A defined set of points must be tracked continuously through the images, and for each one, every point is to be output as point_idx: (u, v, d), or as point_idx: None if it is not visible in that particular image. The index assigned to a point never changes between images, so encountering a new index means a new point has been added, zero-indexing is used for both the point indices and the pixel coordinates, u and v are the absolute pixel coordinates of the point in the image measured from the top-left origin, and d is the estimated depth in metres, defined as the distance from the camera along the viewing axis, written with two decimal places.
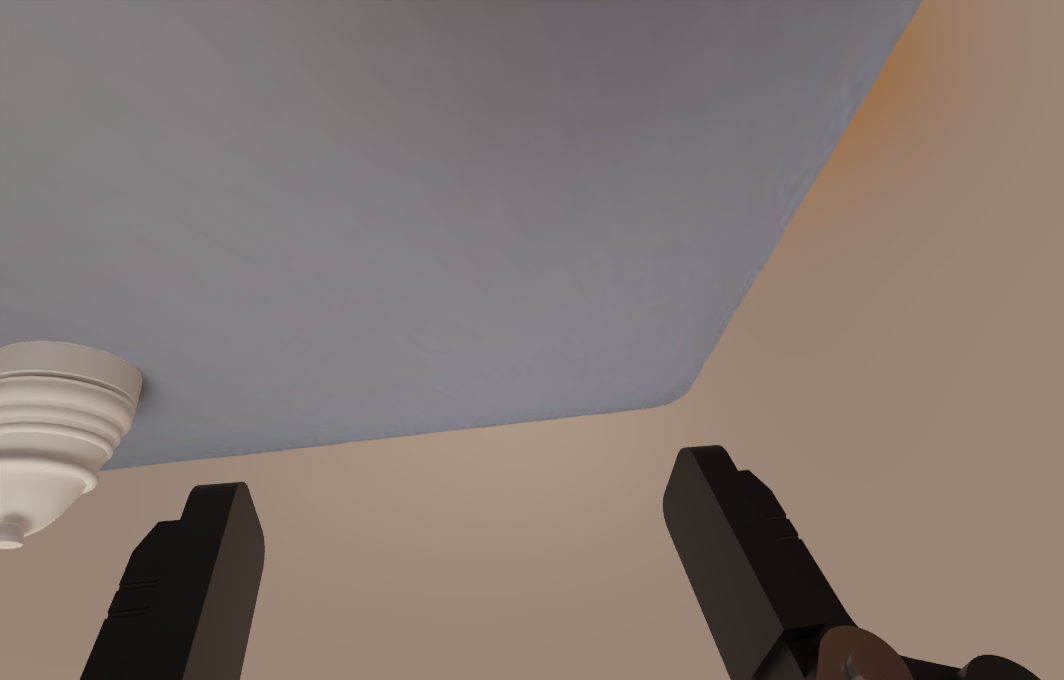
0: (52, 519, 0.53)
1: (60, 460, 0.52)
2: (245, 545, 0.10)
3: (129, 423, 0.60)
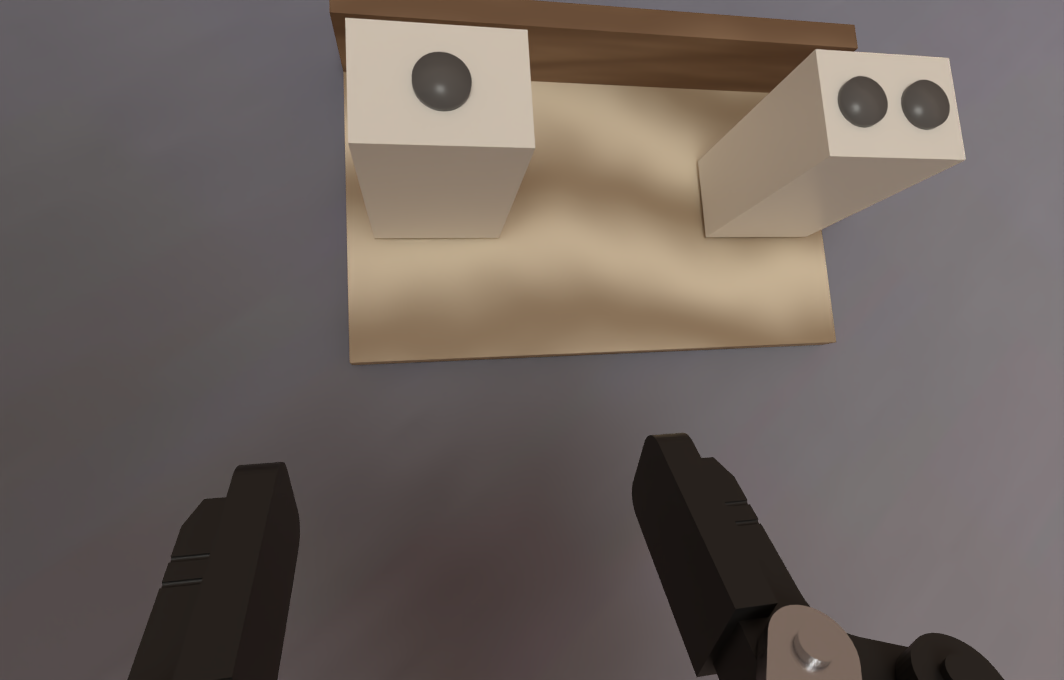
0: None
1: None
2: (285, 523, 0.10)
3: None
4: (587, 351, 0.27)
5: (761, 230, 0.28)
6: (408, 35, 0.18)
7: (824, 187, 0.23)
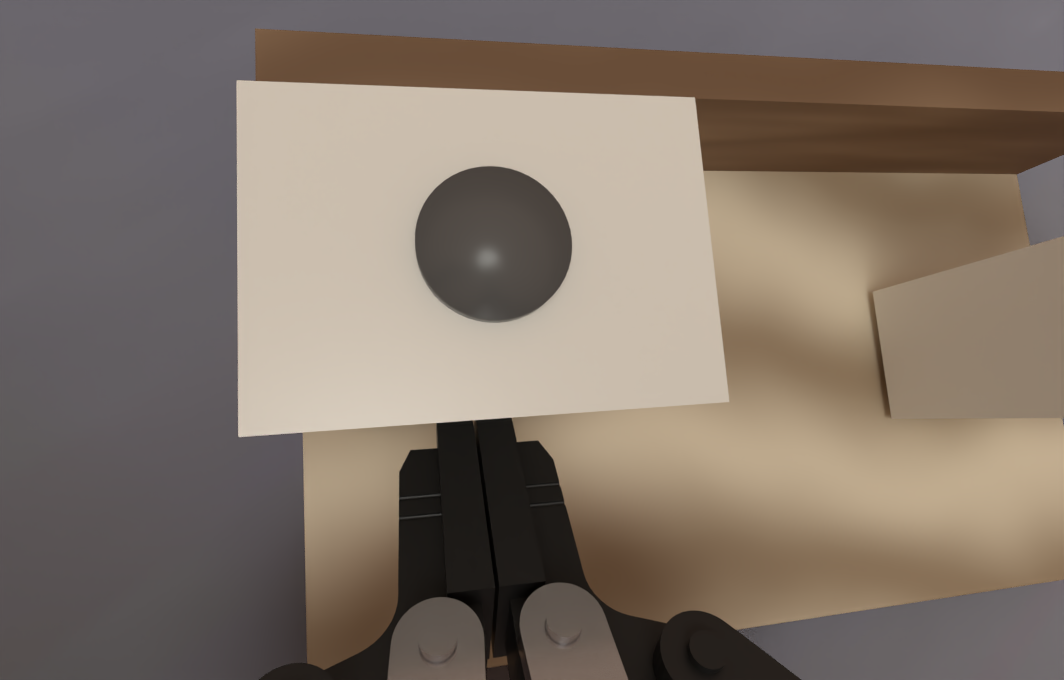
0: None
1: None
2: None
3: None
4: None
5: None
6: (406, 123, 0.07)
7: None
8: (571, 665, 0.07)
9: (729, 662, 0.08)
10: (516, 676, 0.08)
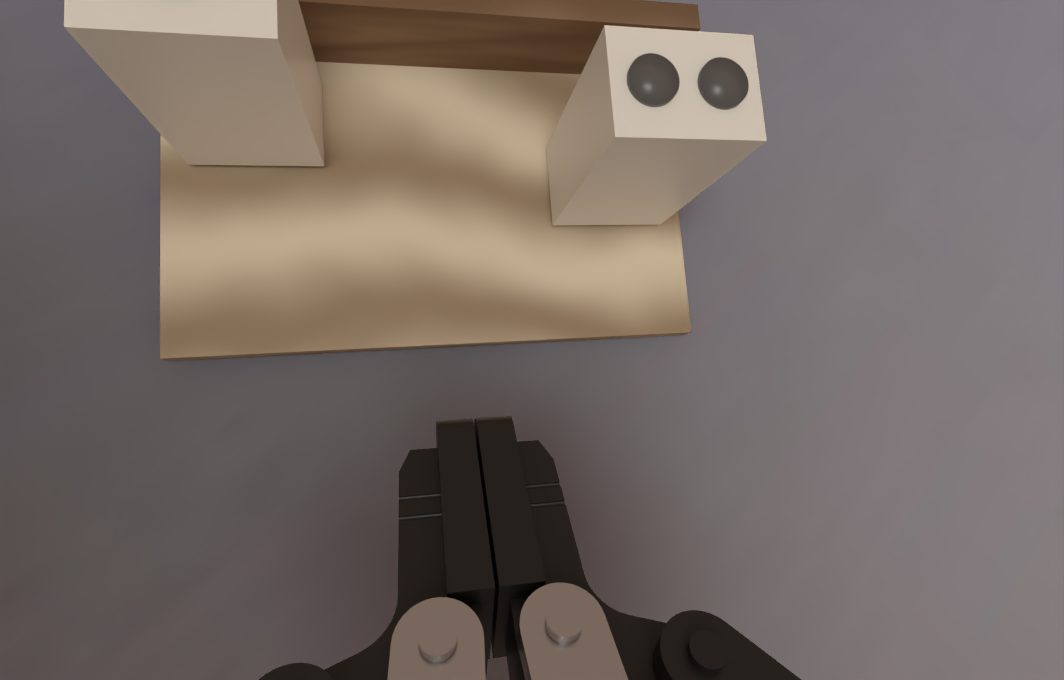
0: None
1: None
2: None
3: None
4: (422, 344, 0.26)
5: (606, 217, 0.27)
6: None
7: (637, 171, 0.22)
8: (571, 665, 0.07)
9: (729, 662, 0.08)
10: (516, 676, 0.08)
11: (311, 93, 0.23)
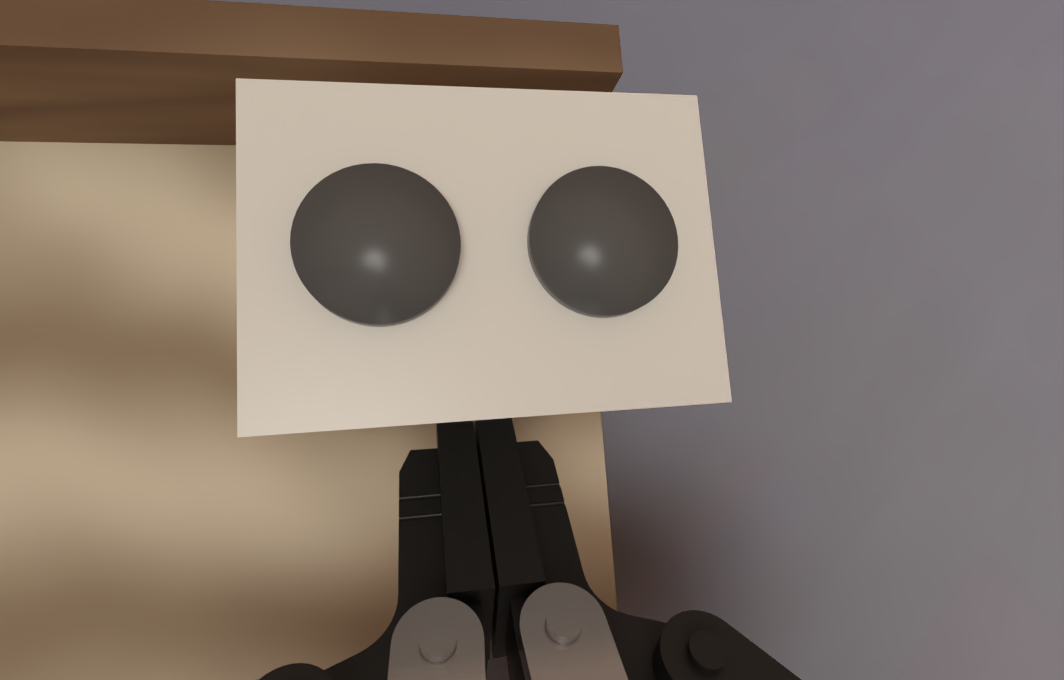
0: None
1: None
2: None
3: None
4: None
5: None
6: None
7: None
8: (571, 665, 0.07)
9: (729, 662, 0.08)
10: (516, 676, 0.08)
11: None
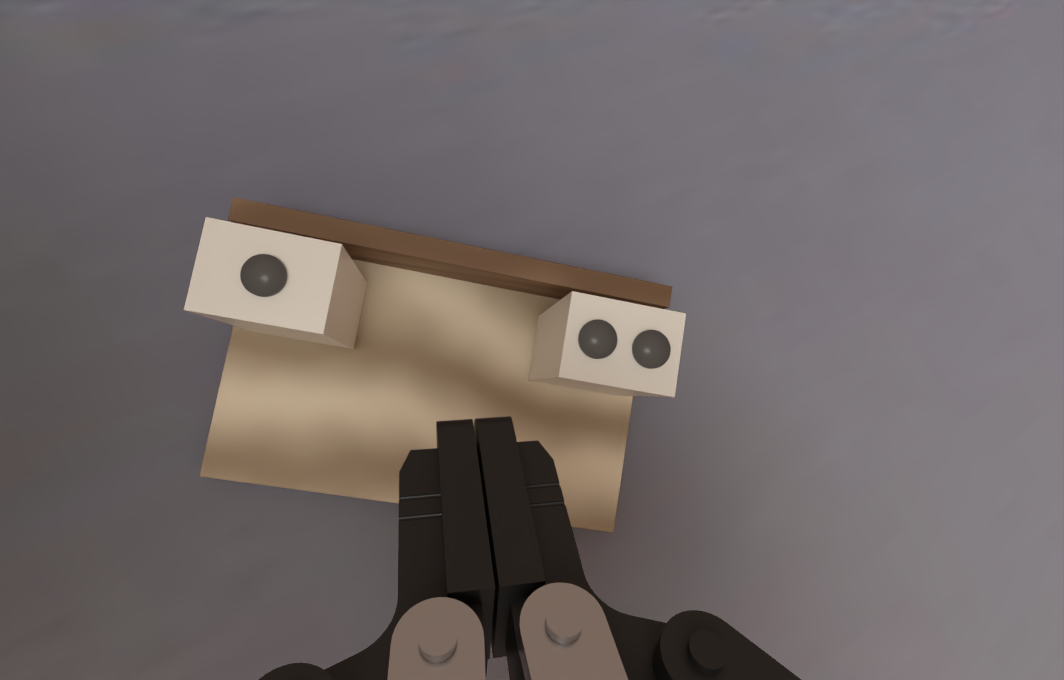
0: None
1: None
2: None
3: None
4: (395, 501, 0.33)
5: None
6: (249, 236, 0.24)
7: (583, 384, 0.29)
8: (571, 665, 0.07)
9: (729, 662, 0.08)
10: (516, 676, 0.08)
11: (351, 313, 0.31)
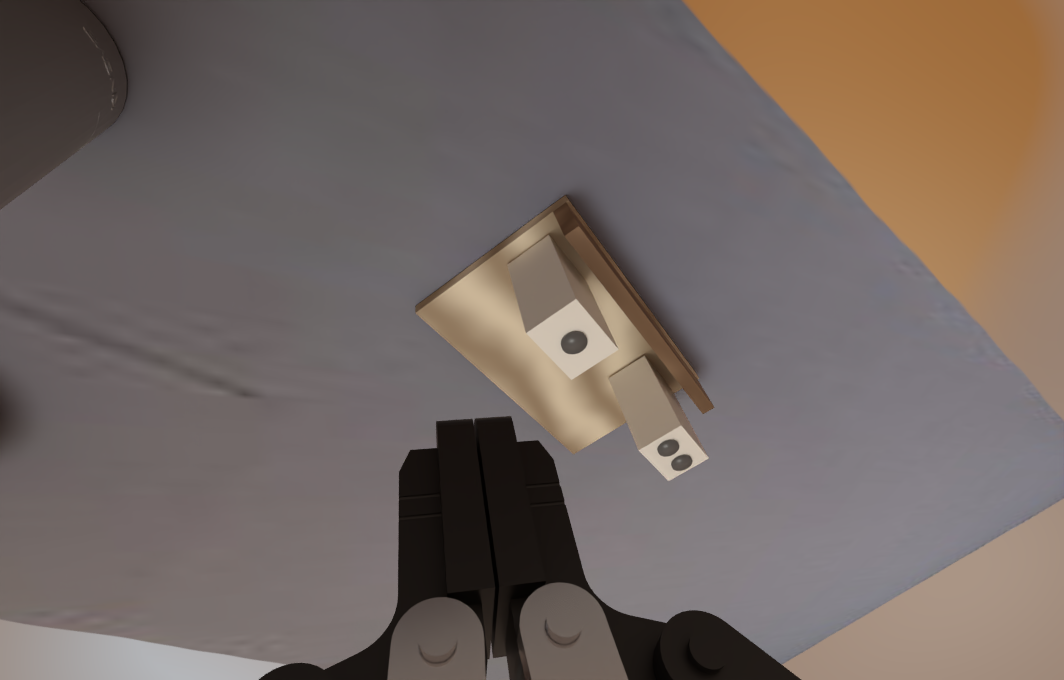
0: None
1: None
2: None
3: None
4: (497, 384, 0.52)
5: None
6: (585, 320, 0.38)
7: None
8: (571, 665, 0.07)
9: (729, 662, 0.08)
10: (516, 676, 0.08)
11: None
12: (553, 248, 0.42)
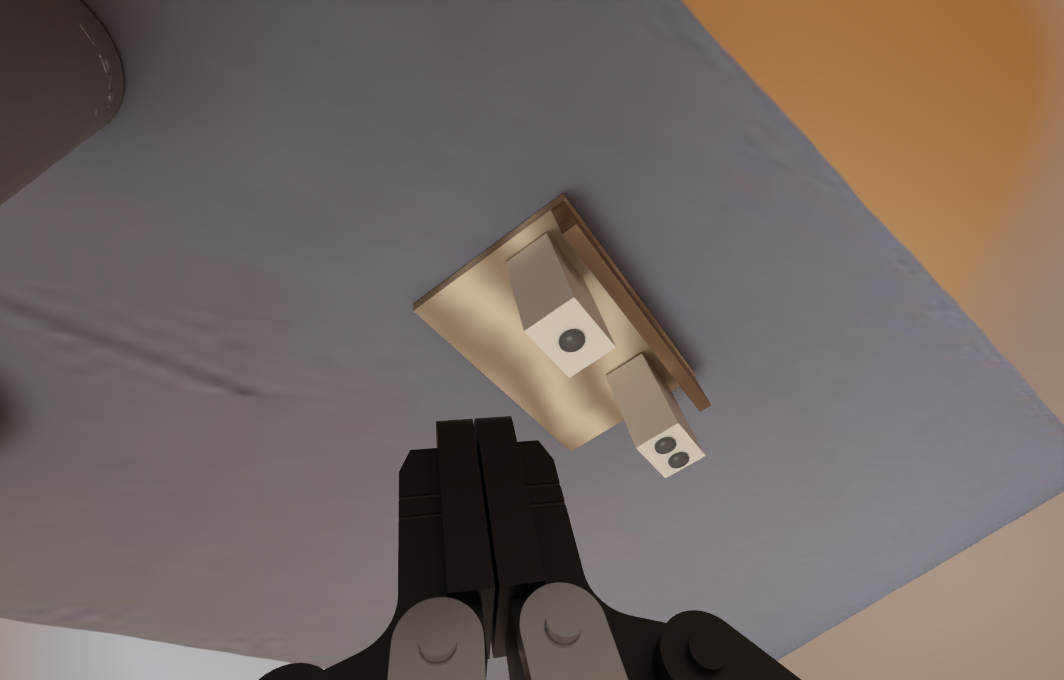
0: None
1: None
2: None
3: None
4: (494, 382, 0.52)
5: None
6: (582, 318, 0.38)
7: None
8: (571, 665, 0.07)
9: (729, 662, 0.08)
10: (516, 676, 0.08)
11: None
12: (551, 246, 0.42)
